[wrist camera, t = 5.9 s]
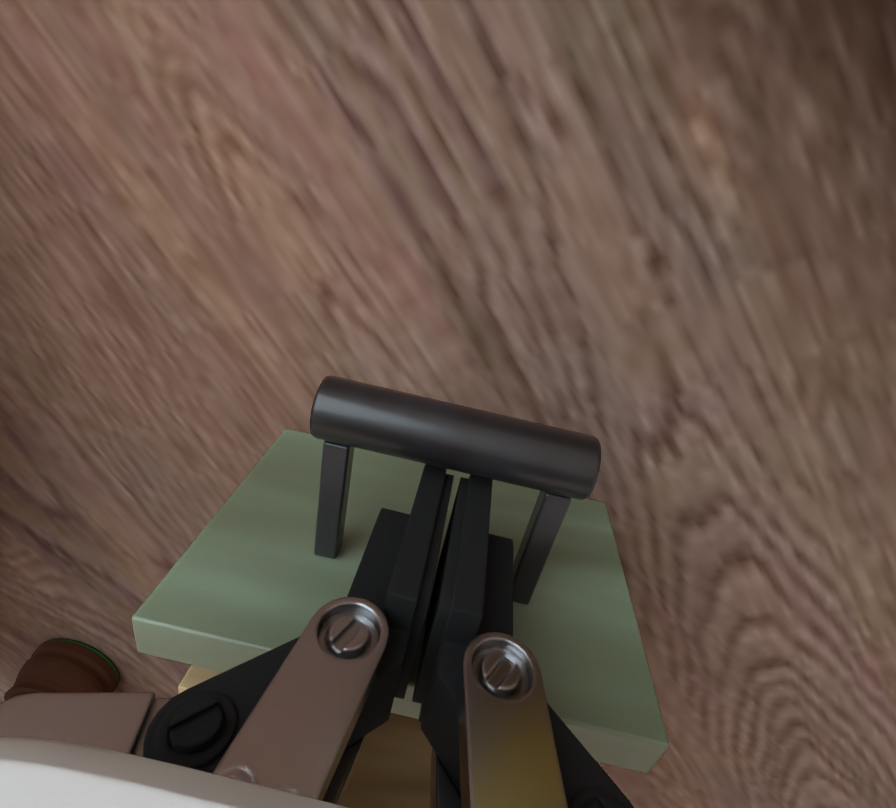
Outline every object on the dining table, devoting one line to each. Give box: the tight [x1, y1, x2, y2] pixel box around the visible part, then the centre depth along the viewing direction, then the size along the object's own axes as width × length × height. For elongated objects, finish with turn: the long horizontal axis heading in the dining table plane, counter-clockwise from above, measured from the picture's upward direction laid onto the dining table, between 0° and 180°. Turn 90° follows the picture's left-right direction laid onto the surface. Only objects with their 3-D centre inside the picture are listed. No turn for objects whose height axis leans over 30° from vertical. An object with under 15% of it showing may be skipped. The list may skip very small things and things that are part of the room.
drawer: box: [132, 376, 669, 808], centre depth 15 cm, size 18×11×8 cm, turn 169°
